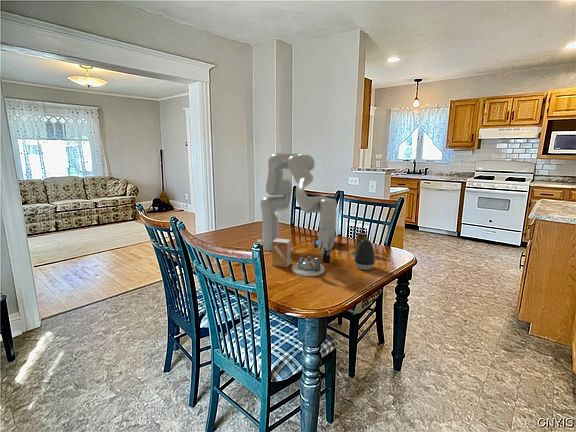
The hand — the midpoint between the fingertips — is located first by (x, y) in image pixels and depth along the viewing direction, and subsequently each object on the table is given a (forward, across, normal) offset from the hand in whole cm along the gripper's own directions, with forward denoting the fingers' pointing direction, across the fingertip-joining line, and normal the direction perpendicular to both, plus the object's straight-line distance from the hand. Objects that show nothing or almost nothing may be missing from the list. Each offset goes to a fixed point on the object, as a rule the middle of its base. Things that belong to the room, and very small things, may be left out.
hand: (326, 262), depth 150 cm
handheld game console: (+6, -46, -20) cm, 51 cm away
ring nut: (+4, +1, -7) cm, 8 cm away
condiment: (+6, -38, +5) cm, 39 cm away
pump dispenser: (+6, -17, +14) cm, 23 cm away
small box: (+6, -1, -25) cm, 26 cm away
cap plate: (+6, -1, -10) cm, 11 cm away
